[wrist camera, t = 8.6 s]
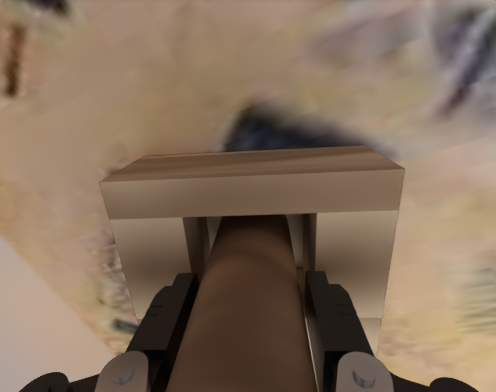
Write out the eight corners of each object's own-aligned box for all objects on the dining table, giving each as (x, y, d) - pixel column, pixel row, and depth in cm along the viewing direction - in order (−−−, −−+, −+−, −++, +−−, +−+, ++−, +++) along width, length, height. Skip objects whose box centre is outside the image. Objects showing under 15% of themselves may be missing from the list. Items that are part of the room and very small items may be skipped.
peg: (223, 257, 17) (146, 582, 6) (217, 197, 16) (97, 480, 4) (288, 255, 17) (337, 595, 6) (288, 194, 15) (353, 489, 4)
